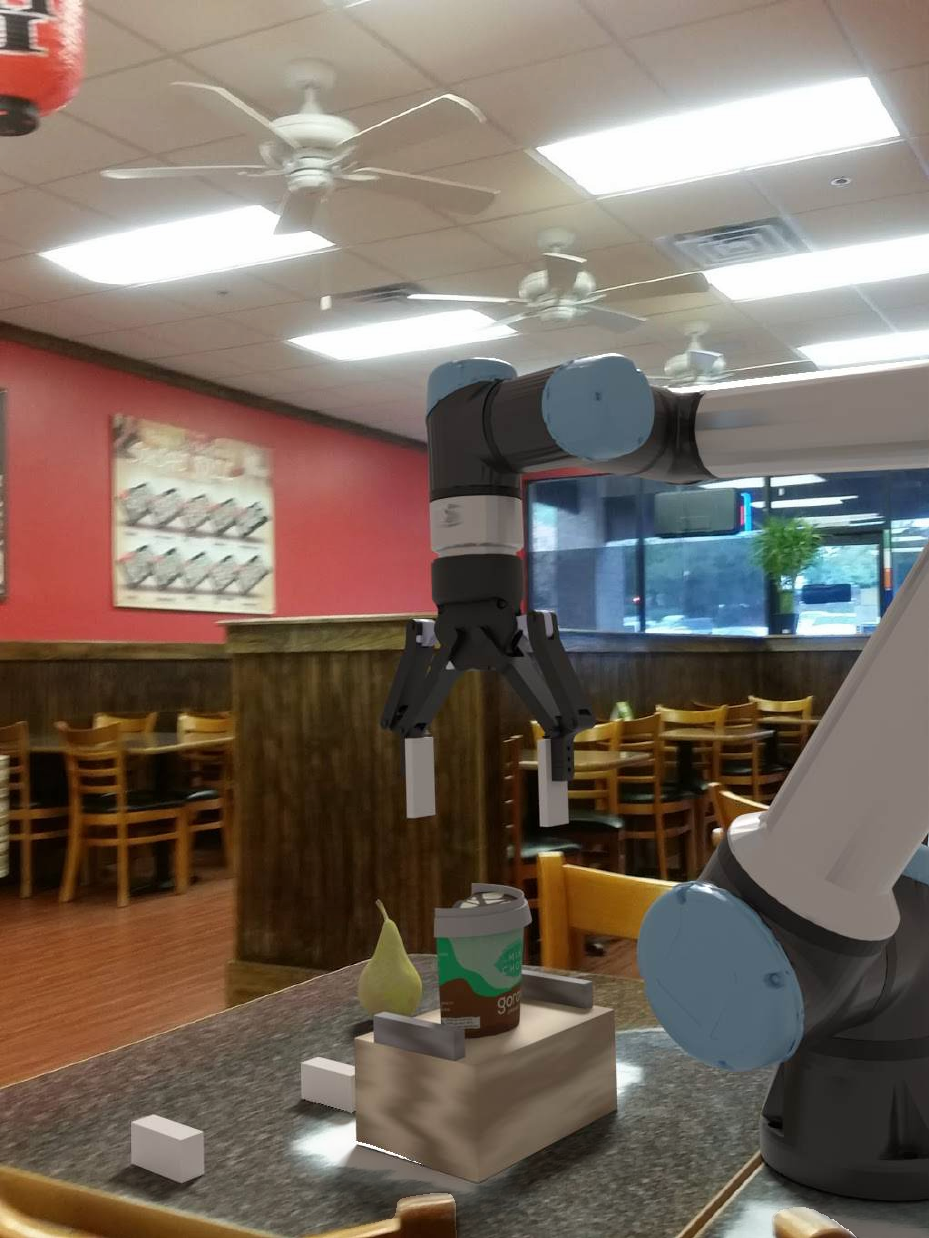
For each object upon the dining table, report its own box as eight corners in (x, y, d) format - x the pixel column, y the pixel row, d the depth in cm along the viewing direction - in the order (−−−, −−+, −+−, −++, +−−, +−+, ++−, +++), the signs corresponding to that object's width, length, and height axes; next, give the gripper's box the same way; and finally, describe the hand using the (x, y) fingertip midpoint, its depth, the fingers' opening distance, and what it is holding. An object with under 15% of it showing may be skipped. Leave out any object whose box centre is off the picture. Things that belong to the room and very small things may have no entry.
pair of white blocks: (368, 1106, 101) (368, 1069, 101) (181, 1183, 86) (181, 1140, 86) (318, 1091, 104) (318, 1056, 104) (131, 1163, 90) (130, 1122, 90)
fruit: (369, 1034, 121) (367, 913, 122) (348, 1016, 128) (345, 901, 129) (432, 1026, 124) (429, 907, 124) (407, 1008, 130) (405, 895, 131)
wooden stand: (617, 1108, 99) (613, 984, 99) (478, 1183, 85) (474, 1037, 85) (501, 1080, 106) (498, 965, 107) (356, 1144, 92) (353, 1011, 93)
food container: (516, 1049, 89) (513, 911, 89) (436, 1044, 90) (433, 909, 91) (547, 1004, 101) (544, 883, 101) (476, 1001, 102) (473, 882, 103)
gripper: (335, 565, 103) (341, 817, 102) (578, 536, 87) (589, 834, 86) (395, 570, 108) (401, 808, 107) (634, 544, 93) (644, 823, 91)
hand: (484, 820), depth 96 cm, fingers open, 13 cm apart
